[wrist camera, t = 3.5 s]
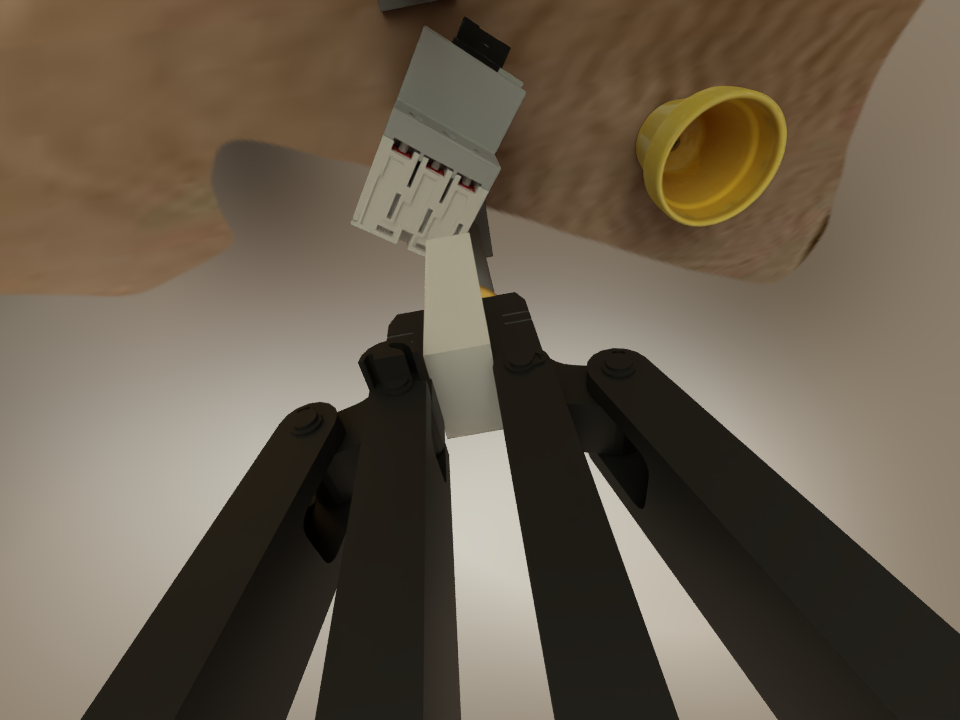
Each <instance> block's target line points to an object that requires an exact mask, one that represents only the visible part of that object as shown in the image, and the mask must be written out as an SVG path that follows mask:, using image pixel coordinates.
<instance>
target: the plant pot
mask: <svg viewBox="0 0 960 720" xmlns="http://www.w3.org/2000/svg"><path fill="white" fill-rule="evenodd" d="M786 127H787V126H786V122H785V118H784V115H783V113H782V111H781V109H780V107H779V106H778V105H777V103H776V102H775V101H774V100H772V99H771V98H770V97H768V96H767V95H765V94H763V93H760V92H758V91H754V90H750V89H746V88H741V87H733V86H716V87H711V88H708V89H705V90H702V91H700V92H697V93H695V94H694V95H692V96H690V97H688V98H684V99H677V100H672V101H669V102H667V103H664V104H662V105H661V106H659V107H658V108H656V109H655V110H654V111H653V112H652V113H651V114H650V115H649V116H648V117H647V119H646V120H645V121H644V123H643V125H642V126H641V128H640V131H639V134H638V137H637V141H636V154H637V158H638V160H639V163H640V165H641V167H642V169H643V176H644V183H645V187H646V190H647V192H648V194H649V196H650V198H651V199H652V200H653V202H654V203H655V204H656V205H657V206H658V207H659V208H660V209H661V210H662V211H663V212H664V213H665V214H666V215H668V216H669V217H670V218H671V219H673V220H675V221H676V222H678V223H681V224H684V225H688V226H695V227H702V226H709V225H714V224H717V223H720V222H723V221H725V220H727V219H730V218H732V217H733V216H735V215H737V214H738V213H740V212H741V211H743V210H744V209H746V208H747V207H748V206H749V205H750V204H752V203H753V202H754V201H755V200H756V199H757V198H758V197H759V196H760V195H761V194H762V193H763V191H764V190H765V189H766V188H767V186H768V185H769V183H770V182H771V180H772V179H773V177H774V176H775V174H776V172H777V170H778V168H779V166H780V163H781V161H782V158H783V155H784V151H785V147H786V140H787V128H786ZM676 141H677V143H676V145H675V146H674V147H673V145H674V144H675V142H676ZM672 147H673V148H672Z"/></svg>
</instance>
